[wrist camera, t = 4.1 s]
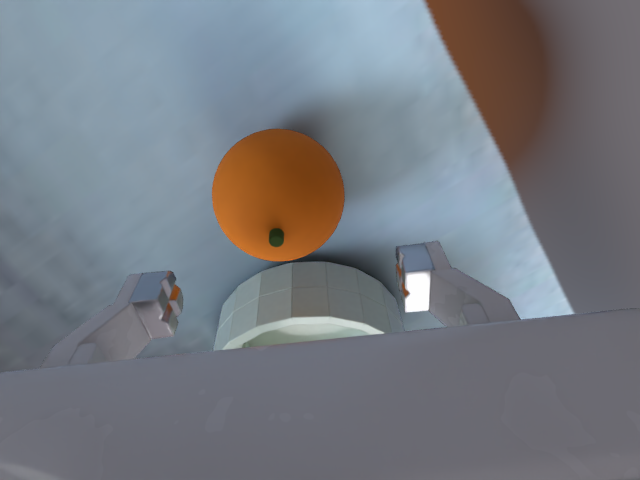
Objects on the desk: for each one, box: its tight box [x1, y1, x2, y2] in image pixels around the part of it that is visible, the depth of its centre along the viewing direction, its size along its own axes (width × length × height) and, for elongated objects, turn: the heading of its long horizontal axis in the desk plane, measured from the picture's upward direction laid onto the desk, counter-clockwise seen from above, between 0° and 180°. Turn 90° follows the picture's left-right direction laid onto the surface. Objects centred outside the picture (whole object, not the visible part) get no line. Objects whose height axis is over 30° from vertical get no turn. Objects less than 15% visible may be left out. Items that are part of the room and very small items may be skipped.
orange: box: [212, 129, 344, 261], centre depth 19 cm, size 6×6×6 cm
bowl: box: [212, 261, 405, 351], centre depth 27 cm, size 12×12×5 cm
